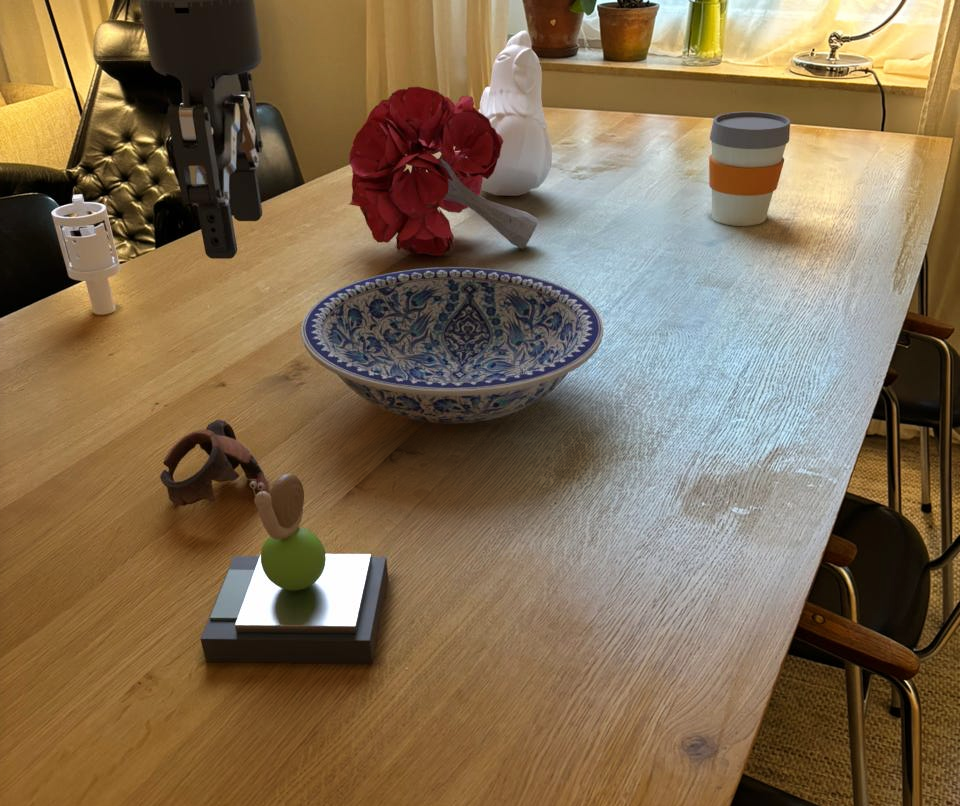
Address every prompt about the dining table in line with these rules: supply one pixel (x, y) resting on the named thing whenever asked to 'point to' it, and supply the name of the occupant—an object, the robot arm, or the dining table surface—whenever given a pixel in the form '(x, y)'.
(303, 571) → the snail figurine
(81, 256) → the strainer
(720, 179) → the reusable coffee cup
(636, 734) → the dining table surface
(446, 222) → the bouquet
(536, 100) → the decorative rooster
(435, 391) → the ceramic bowl
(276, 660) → the scale
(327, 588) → the scale platter
